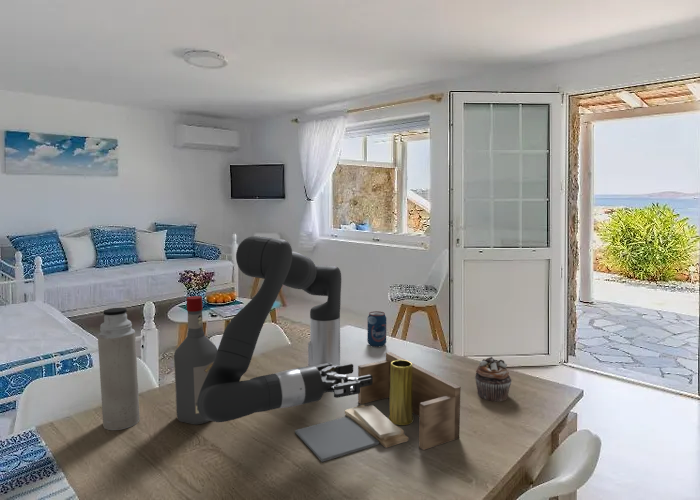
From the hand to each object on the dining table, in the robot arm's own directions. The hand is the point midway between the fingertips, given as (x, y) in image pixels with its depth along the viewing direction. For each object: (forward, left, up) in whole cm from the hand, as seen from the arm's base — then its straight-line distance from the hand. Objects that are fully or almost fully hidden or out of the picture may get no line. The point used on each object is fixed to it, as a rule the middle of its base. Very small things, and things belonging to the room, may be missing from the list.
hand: (361, 373), depth 108 cm
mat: (-5, -5, -14) cm, 15 cm away
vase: (+8, +8, -14) cm, 18 cm away
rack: (+6, +6, -14) cm, 17 cm away
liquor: (-41, -3, -14) cm, 44 cm away
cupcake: (+30, +29, -14) cm, 44 cm away
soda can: (-10, +64, -14) cm, 66 cm away
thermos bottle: (-57, -11, -14) cm, 60 cm away
